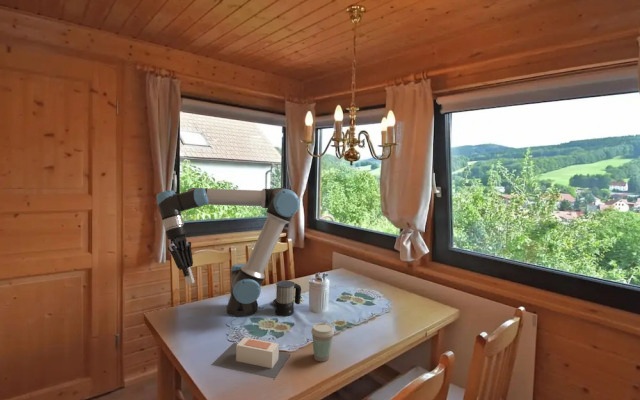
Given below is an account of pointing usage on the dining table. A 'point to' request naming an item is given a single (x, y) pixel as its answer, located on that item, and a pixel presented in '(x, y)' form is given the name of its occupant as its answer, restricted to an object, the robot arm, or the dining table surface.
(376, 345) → the dining table surface
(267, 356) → the cream block
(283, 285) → the milk frother
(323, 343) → the coffee cup
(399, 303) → the dining table surface
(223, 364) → the charcoal mat
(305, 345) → the dining table surface
